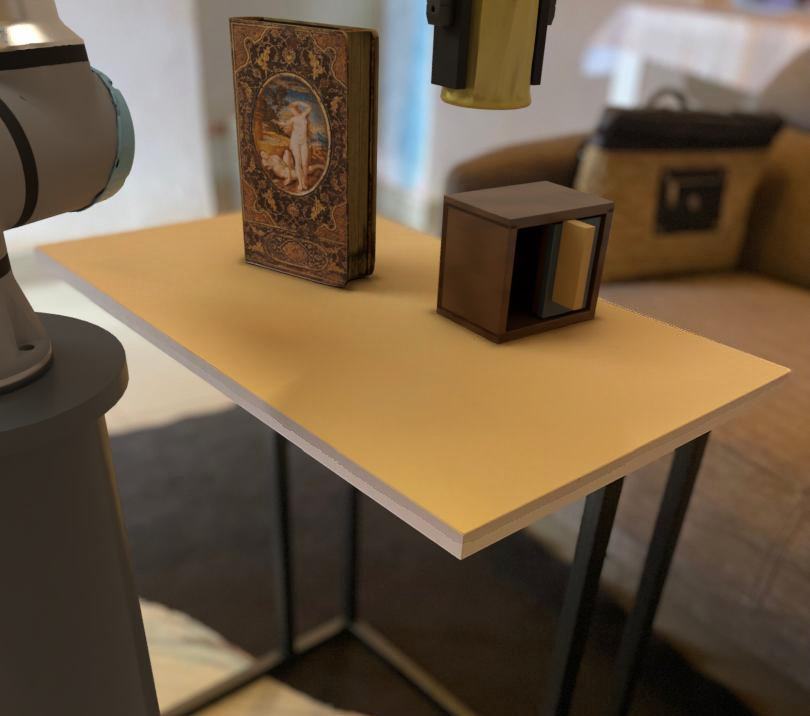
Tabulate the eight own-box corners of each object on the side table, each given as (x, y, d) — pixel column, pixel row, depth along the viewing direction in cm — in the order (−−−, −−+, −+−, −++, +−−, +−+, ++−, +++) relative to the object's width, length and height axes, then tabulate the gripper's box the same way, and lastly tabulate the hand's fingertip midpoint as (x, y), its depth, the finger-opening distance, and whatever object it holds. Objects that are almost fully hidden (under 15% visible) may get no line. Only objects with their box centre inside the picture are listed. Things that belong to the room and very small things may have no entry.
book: (237, 260, 101) (220, 17, 87) (268, 250, 105) (256, 15, 90) (346, 290, 94) (347, 31, 80) (374, 278, 98) (380, 29, 83)
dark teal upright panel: (536, 316, 87) (550, 219, 81) (580, 305, 90) (596, 211, 84) (563, 328, 84) (579, 229, 78) (607, 317, 87) (625, 221, 82)
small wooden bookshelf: (435, 312, 90) (443, 194, 83) (531, 290, 97) (545, 180, 90) (497, 343, 83) (511, 219, 76) (594, 318, 90) (615, 202, 83)
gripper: (425, -520, 35) (402, 100, 48) (712, -410, 44) (626, 86, 58) (333, -468, 40) (335, 81, 53) (608, -379, 49) (551, 72, 62)
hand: (486, 83), depth 55 cm, fingers closed on vase, 6 cm apart
